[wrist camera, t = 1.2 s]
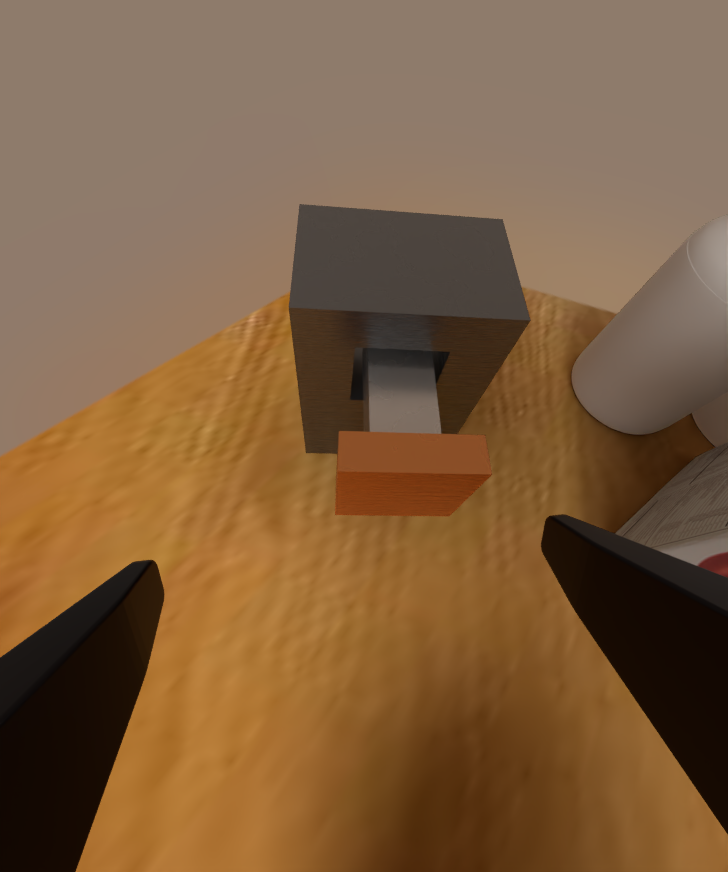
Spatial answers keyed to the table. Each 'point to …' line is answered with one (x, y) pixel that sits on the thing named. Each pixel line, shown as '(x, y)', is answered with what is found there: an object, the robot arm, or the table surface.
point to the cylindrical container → (714, 420)
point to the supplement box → (689, 514)
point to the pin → (405, 445)
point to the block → (398, 308)
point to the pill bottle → (663, 342)
